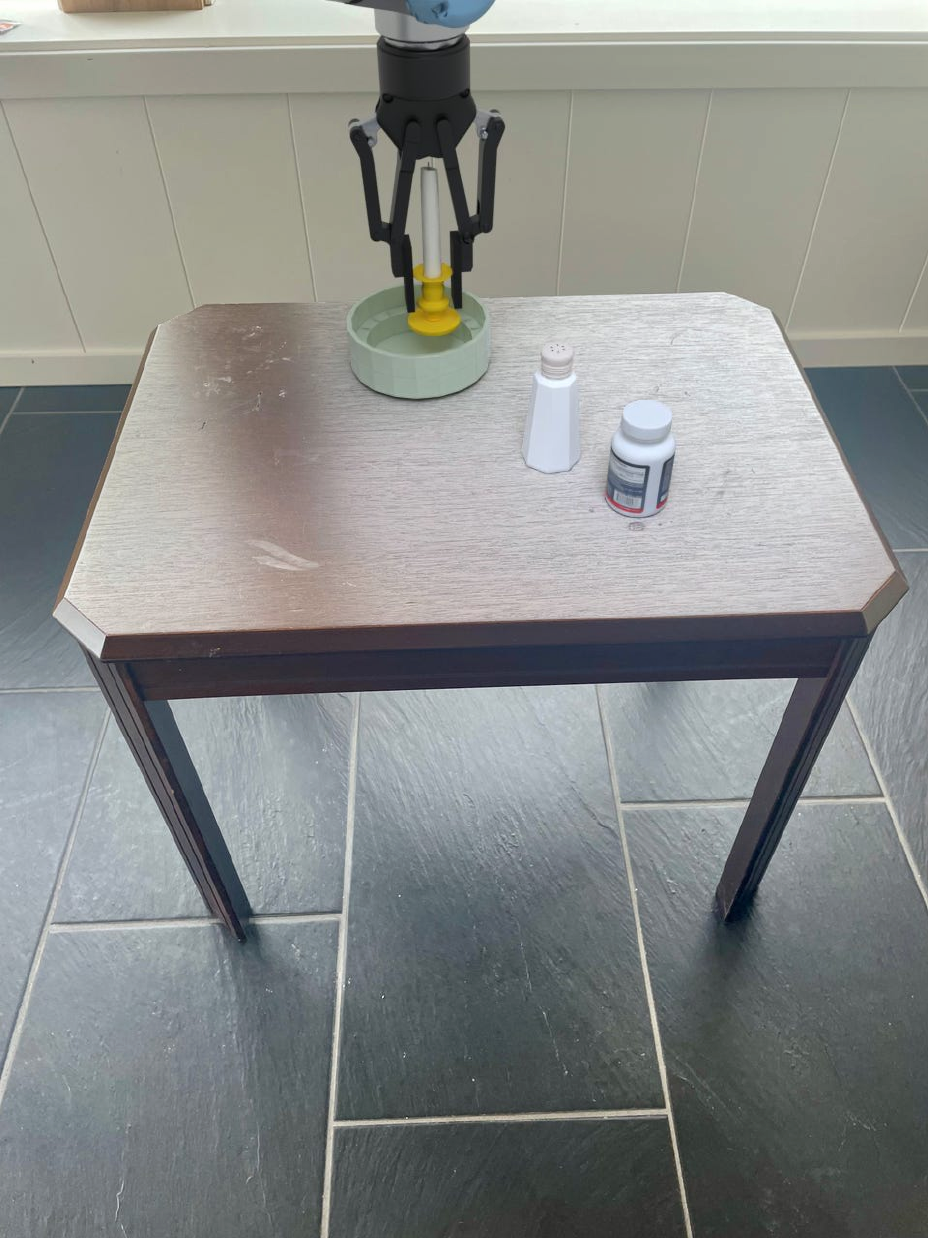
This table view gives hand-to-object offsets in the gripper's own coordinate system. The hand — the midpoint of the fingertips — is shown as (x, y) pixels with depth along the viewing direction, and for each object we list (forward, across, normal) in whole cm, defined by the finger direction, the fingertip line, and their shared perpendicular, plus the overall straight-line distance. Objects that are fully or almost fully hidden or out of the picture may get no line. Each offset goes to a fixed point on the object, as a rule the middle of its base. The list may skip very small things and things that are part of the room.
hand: (433, 303), depth 94 cm
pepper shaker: (+6, -8, +18) cm, 21 cm away
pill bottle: (+6, -14, +25) cm, 29 cm away
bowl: (+6, +2, +1) cm, 6 cm away
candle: (+2, 0, 0) cm, 2 cm away
